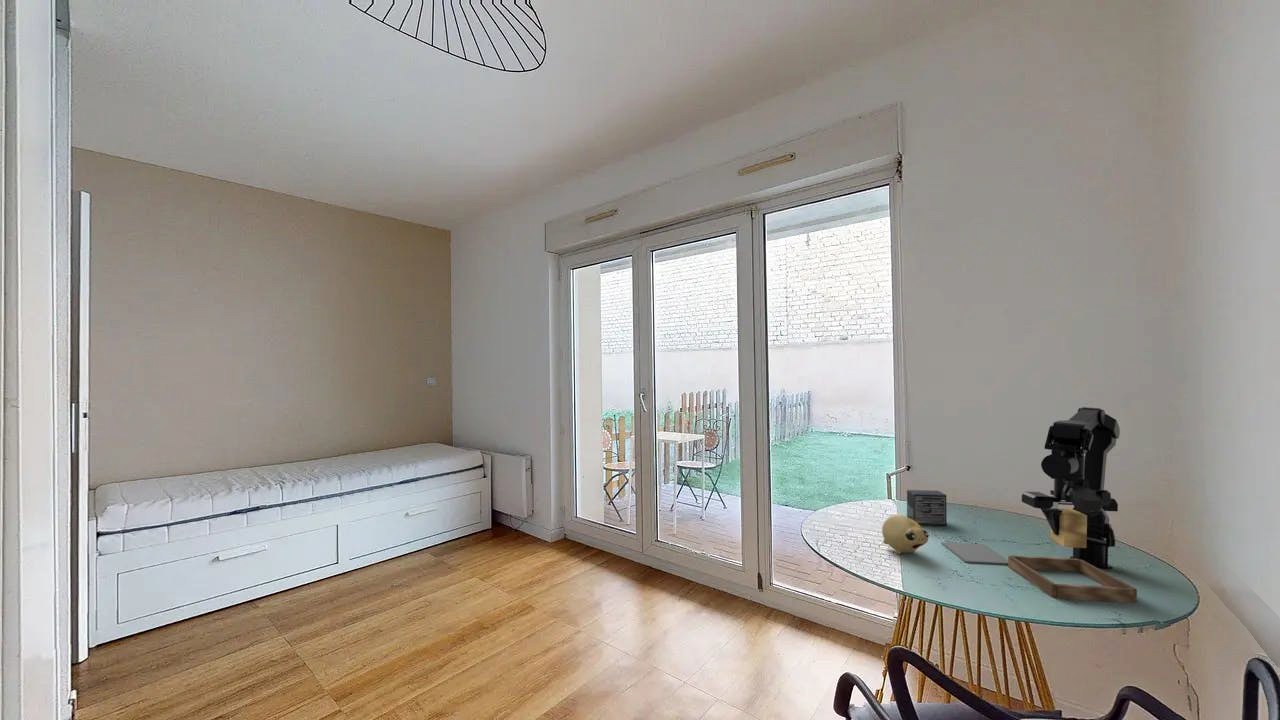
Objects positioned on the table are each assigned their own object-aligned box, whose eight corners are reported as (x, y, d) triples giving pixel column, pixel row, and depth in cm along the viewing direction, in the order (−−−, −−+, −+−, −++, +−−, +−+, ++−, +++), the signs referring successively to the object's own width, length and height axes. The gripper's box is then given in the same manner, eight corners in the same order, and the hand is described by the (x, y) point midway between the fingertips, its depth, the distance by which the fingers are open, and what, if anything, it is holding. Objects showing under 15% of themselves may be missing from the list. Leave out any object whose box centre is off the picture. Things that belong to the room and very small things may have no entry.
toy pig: (907, 563, 138) (907, 524, 138) (874, 547, 150) (875, 511, 150) (935, 559, 141) (936, 521, 141) (901, 543, 153) (902, 508, 153)
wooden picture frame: (1080, 570, 135) (1080, 558, 135) (1138, 603, 117) (1138, 590, 117) (1007, 566, 137) (1007, 555, 137) (1053, 598, 119) (1053, 585, 119)
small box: (937, 520, 175) (938, 489, 175) (947, 526, 169) (948, 495, 168) (905, 519, 176) (906, 488, 176) (914, 525, 170) (914, 493, 169)
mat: (984, 545, 152) (984, 544, 151) (1012, 565, 138) (1012, 563, 138) (941, 543, 153) (941, 542, 153) (965, 562, 139) (965, 560, 139)
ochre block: (1071, 540, 129) (1072, 509, 129) (1086, 548, 124) (1087, 515, 124) (1050, 539, 130) (1050, 508, 129) (1064, 546, 125) (1064, 514, 124)
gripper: (1050, 479, 120) (1049, 545, 120) (1138, 482, 117) (1136, 549, 118) (1020, 469, 131) (1019, 529, 131) (1100, 471, 129) (1099, 533, 129)
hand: (1067, 535), depth 127 cm, fingers closed on ochre block, 5 cm apart
